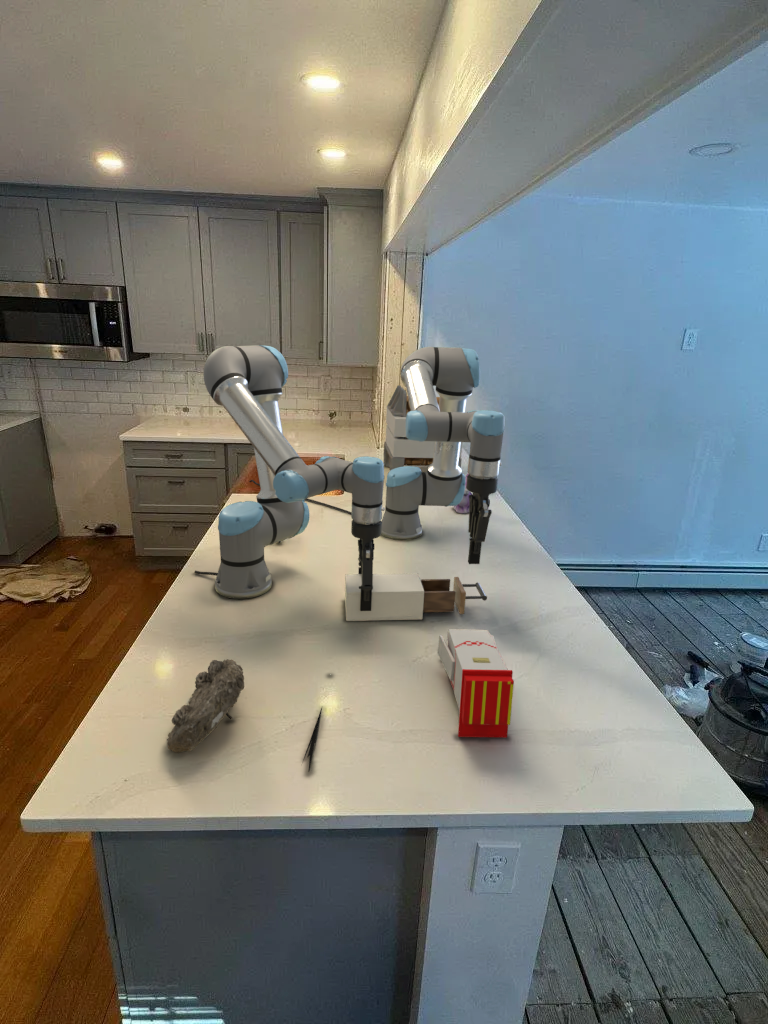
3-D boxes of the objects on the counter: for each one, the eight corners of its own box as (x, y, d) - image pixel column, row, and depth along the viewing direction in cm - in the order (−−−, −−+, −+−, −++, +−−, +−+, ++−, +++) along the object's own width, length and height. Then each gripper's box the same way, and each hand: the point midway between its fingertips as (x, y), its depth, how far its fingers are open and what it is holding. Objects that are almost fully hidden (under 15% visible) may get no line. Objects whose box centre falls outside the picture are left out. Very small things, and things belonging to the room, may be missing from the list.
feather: (331, 679, 122) (336, 673, 122) (307, 777, 96) (313, 769, 95) (324, 675, 122) (329, 669, 121) (298, 772, 95) (304, 764, 95)
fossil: (192, 660, 117) (244, 628, 112) (224, 691, 120) (276, 661, 115) (142, 746, 98) (202, 712, 93) (182, 779, 101) (242, 748, 96)
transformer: (382, 463, 289) (386, 382, 275) (445, 464, 293) (451, 384, 279) (390, 482, 257) (394, 392, 243) (460, 483, 261) (468, 394, 247)
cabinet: (416, 599, 155) (418, 573, 152) (422, 619, 145) (424, 591, 142) (344, 601, 153) (345, 574, 150) (346, 621, 143) (346, 592, 140)
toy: (488, 613, 130) (523, 677, 101) (484, 667, 133) (517, 744, 104) (435, 612, 130) (455, 676, 101) (432, 666, 133) (451, 743, 103)
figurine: (461, 515, 220) (465, 478, 215) (447, 507, 229) (450, 471, 224) (481, 512, 224) (485, 476, 219) (466, 504, 233) (469, 469, 228)
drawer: (477, 597, 155) (479, 576, 153) (486, 613, 147) (488, 592, 145) (390, 598, 153) (390, 577, 151) (393, 615, 145) (394, 593, 142)
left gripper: (386, 537, 130) (382, 622, 137) (378, 504, 151) (375, 579, 158) (353, 537, 129) (351, 622, 136) (349, 504, 150) (348, 579, 158)
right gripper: (505, 483, 133) (494, 574, 141) (490, 468, 145) (481, 552, 153) (474, 482, 132) (465, 574, 140) (461, 467, 144) (454, 552, 152)
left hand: (364, 599), depth 147 cm, fingers closed on cabinet, 10 cm apart
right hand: (473, 562), depth 147 cm, fingers closed
